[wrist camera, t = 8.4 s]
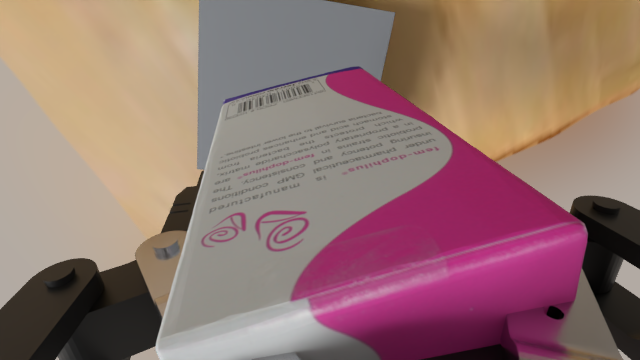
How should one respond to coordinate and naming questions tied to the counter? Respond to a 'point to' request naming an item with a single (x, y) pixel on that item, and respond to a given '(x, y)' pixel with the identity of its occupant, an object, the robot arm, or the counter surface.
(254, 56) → the stacking block
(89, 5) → the counter surface
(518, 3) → the counter surface
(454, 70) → the counter surface
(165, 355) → the supplement box
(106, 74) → the counter surface
